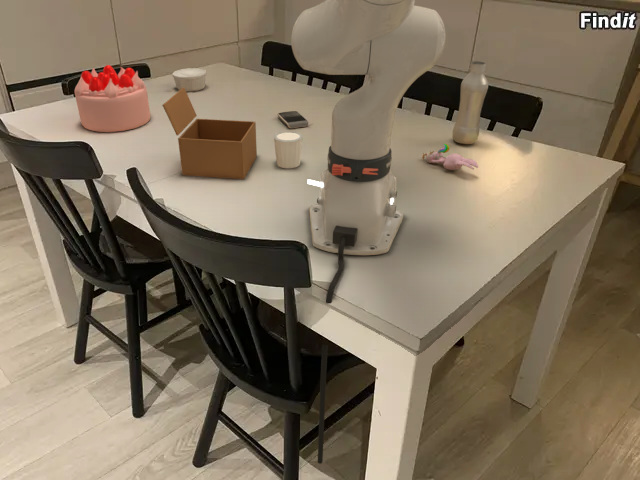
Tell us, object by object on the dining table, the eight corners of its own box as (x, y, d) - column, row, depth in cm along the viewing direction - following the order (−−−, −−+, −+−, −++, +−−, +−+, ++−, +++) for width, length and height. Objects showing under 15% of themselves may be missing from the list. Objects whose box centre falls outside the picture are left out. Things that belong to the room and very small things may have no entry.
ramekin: (169, 92, 187) (167, 76, 184) (180, 83, 196) (178, 67, 193) (202, 93, 186) (200, 77, 183) (211, 84, 195) (209, 68, 192)
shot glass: (307, 161, 137) (308, 134, 133) (293, 171, 132) (292, 143, 128) (284, 156, 140) (283, 129, 136) (268, 165, 135) (268, 137, 131)
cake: (161, 123, 161) (154, 72, 153) (93, 138, 152) (82, 84, 144) (135, 106, 175) (128, 58, 167) (71, 119, 165) (60, 69, 157)
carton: (243, 179, 129) (241, 142, 124) (182, 175, 131) (177, 138, 126) (256, 156, 140) (255, 121, 135) (200, 153, 142) (196, 118, 137)
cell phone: (296, 115, 166) (296, 110, 165) (309, 127, 158) (309, 122, 157) (276, 117, 165) (276, 112, 164) (288, 129, 156) (288, 124, 155)
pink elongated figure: (417, 167, 137) (466, 178, 125) (417, 143, 134) (467, 152, 123) (435, 161, 140) (484, 172, 128) (435, 137, 137) (486, 146, 125)
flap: (163, 104, 122) (162, 105, 122) (178, 135, 126) (176, 135, 126) (184, 87, 134) (182, 87, 134) (196, 115, 137) (195, 116, 137)
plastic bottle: (459, 136, 150) (472, 58, 139) (482, 142, 146) (497, 62, 135) (446, 142, 147) (458, 63, 136) (469, 149, 143) (484, 67, 132)
